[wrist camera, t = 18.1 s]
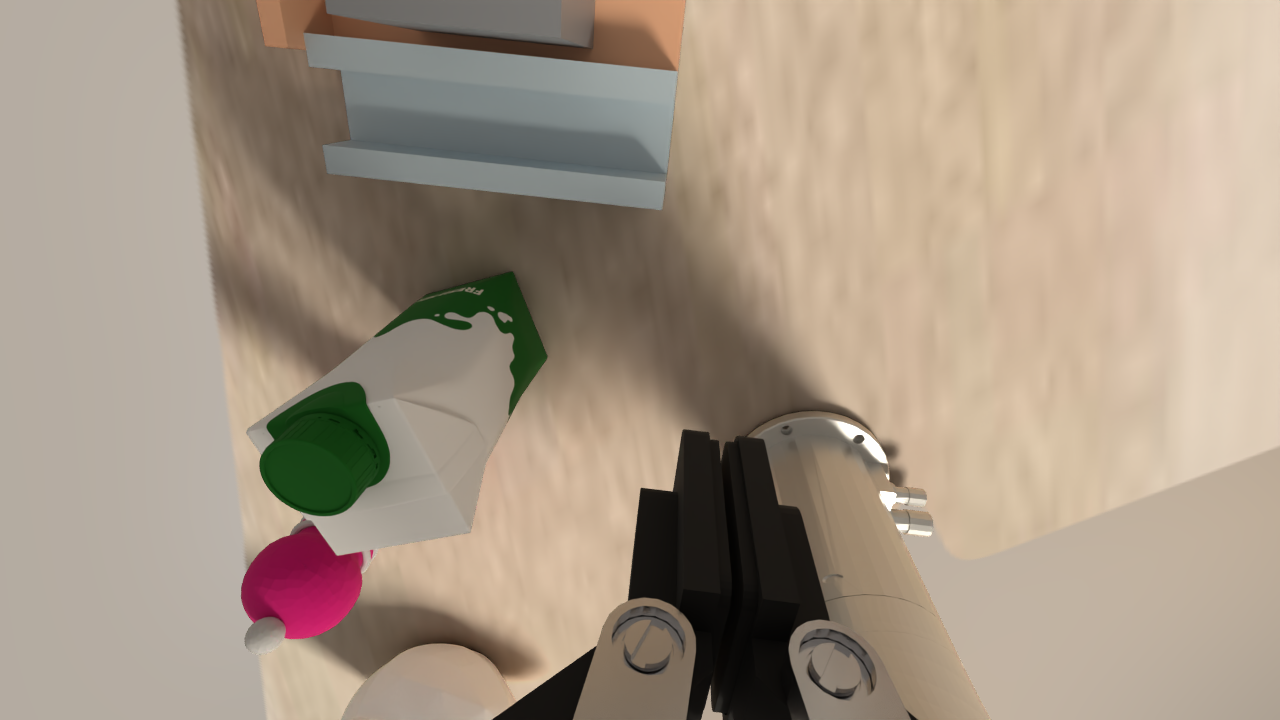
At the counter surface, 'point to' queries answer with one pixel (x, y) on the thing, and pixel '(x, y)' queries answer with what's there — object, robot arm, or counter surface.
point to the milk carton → (405, 420)
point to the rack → (501, 102)
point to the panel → (482, 18)
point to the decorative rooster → (432, 687)
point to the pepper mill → (299, 588)
